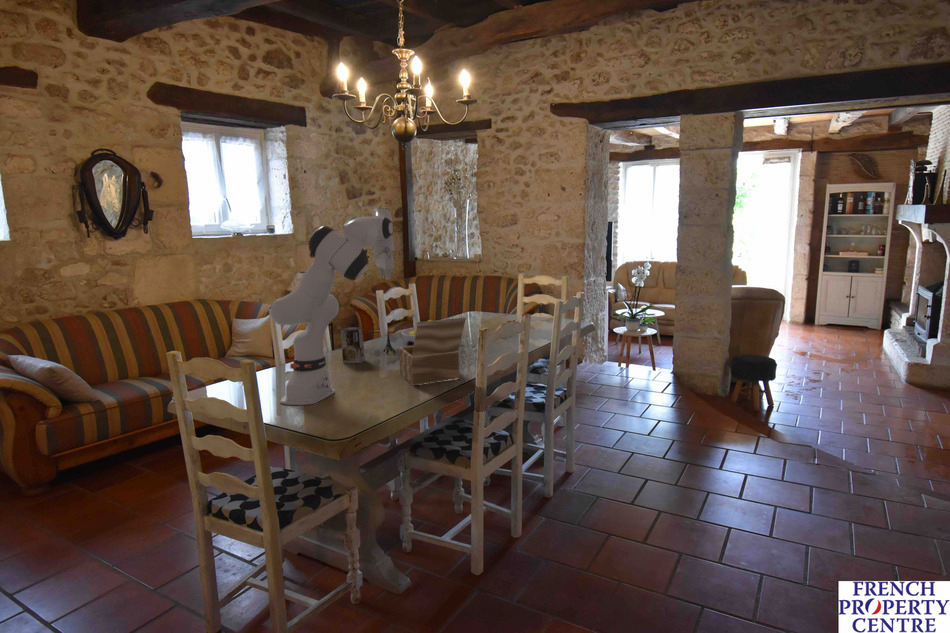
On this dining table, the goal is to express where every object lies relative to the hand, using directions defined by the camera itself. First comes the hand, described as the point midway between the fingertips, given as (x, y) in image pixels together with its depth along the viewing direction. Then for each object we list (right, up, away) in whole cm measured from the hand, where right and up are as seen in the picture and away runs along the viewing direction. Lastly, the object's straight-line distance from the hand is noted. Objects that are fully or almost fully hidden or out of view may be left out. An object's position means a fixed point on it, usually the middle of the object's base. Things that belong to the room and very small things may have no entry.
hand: (385, 278), depth 250 cm
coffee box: (-19, -38, +24) cm, 49 cm away
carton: (+19, -42, -5) cm, 47 cm away
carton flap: (+25, -24, -23) cm, 41 cm away
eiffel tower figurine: (-5, -35, +41) cm, 54 cm away
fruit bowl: (+13, -30, +63) cm, 71 cm away
